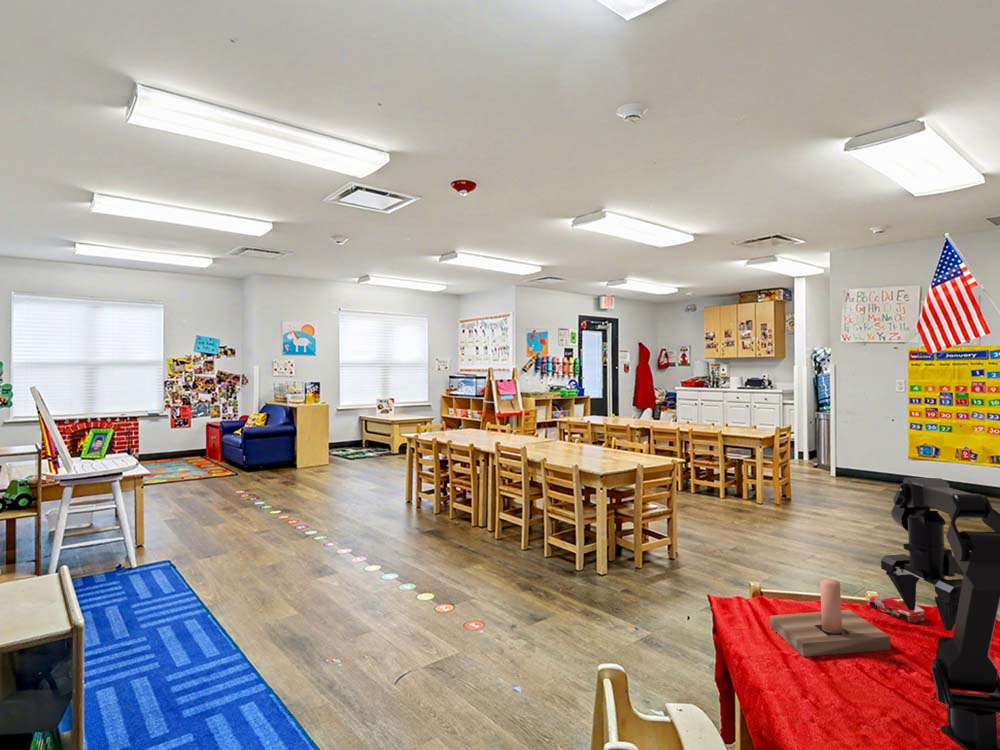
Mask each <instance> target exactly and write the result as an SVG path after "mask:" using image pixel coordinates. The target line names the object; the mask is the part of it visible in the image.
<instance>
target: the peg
mask: <svg viewBox="0 0 1000 750" xmlns="http://www.w3.org/2000/svg"><path fill="white" fill-rule="evenodd" d="M819 584H820V585H819V587H820V588H819V589H820V591H819V592H820V607H821V608H820V610H821V611H820V612H821V614H822V632H824V633H825V634H826V635H828V636H833V635H842V633H843V630H842V616H841V610H842V598H841V597H842V595H841V594H842V593H841V583H840V581H839V580H836V579H831V578H822V579H820V580H819Z"/></svg>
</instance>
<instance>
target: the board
mask: <svg viewBox="0 0 1000 750" xmlns="http://www.w3.org/2000/svg"><path fill="white" fill-rule="evenodd" d="M841 616H842V630H843V633H842V635H833V636H828V635H826V634H825V633H824V632H822V614H821V611H815V612H803V613H802V612H800V613H790V614H789V613H788V614H779V615H778V614H777V615H769V627H770V626H771V627H772V628H773V629H774V630H775V631H776V632H777V633H778V634H780V635H781V636H782V637H783V638H784V639H785V640H786V641H787V642H788V643H789V644H790V645H791V646H792V647H793V648H794V651H796V652H797V653H798V654H799V656H801V657H803V658H805V657H816V656H826V655H827V656H828V655H829V656H831V655H841V654H842V655H843V654H851V653H852V654H853V653H865V652H876V651H877V652H879V651H887V650H888V651H890V650H891V636H890V635H889V634H887V633H885V632H884V631H883V630H881V629H880V628H878V627H876V626H874V624H872V623H870V622H869V621H868V620H865V619H864V618H863V617H861V616H859V615H858V614H857V613H854V612H853V611H852V610H850V609H841ZM778 634H777V635H778ZM787 642H786V643H787ZM788 643H787V644H788ZM789 644H788V645H789ZM790 645H789V646H790ZM791 646H790V647H791ZM792 647H791V648H792ZM793 648H792V649H793Z"/></svg>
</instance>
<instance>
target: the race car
mask: <svg viewBox="0 0 1000 750" xmlns="http://www.w3.org/2000/svg"><path fill="white" fill-rule="evenodd" d="M868 602H869V603H868V605H869V606H870V609H874V610H876V611H877V610H878V611H880V612H883V613H886V614H888V615H890V616H893V617H895V618H898V619H900V620H901V621H904V622H905V621H906V622H909V623H915V624H916V623H921V622H924V621H927V620H928V619H927V614H926V610H924V609H923V608H922V607H920V606H919V605H917V604H915V610H912V611H910V610H908V608H907V606H906V604H905V603H904V601H903V599H902V597H899V596H897V597H896V596H895V597H888V596H883V595H882V596H881V595H874V596H870V598H869V600H868ZM881 605H882V606H881Z"/></svg>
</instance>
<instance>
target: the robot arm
mask: <svg viewBox="0 0 1000 750" xmlns="http://www.w3.org/2000/svg"><path fill="white" fill-rule="evenodd" d="M893 504H894V506H893V507H892V509H891V511H890V512H891V517H892V519H893V521H894V522H895V523H896V524H897V525H899V526H900V527H901V528H902V529H904V530H905V531H906V532H908V543H903V549H904V551H905V550H906V551H908V554H906V553H902V554H888V555H884V556H883V557H882V558H881V559H880V566H881V567H880V568H881V570H883V571H885V575H886V576H887V577H889V579H890V581H891V582H892V584H893V585H894V586H895V587H894V588H895V589H896V590H897V592H898V593H899V595H900V598H902V599H903V601H904V603H905V604H906V606H907V608H908V610H910V611H912V610H915V605H917V604H916V601H917V599H916V598H917V583H918V581H919V580H922V581H925V582H927V583H928V584H931V585H933V586H934V592H935V594H936V595H937V596H934V601H935V604H936V608H937V611H938V613H939V617H940V620H941V623H942V626H943V629H944V630H945V631H946V632H951V631H953V633H952V637H950V636H940V637H939V638H938V639H937V647H936V650H935V658H933V659H932V664H931V673H932V676H933V677H932V678H933V681H934V687H935V690H936V700H937V702H939V703H942V704H943V705H944V704H945V707H946V717H947V724H948V725H941V726H939V729H940V731H942V732H943V733H944V732H945V733H946V735H947V734H948V735H947V736H948V737H949V736H950V737H949V738H951V739H952V738H953V739H954V740H955V741H954V740H953V739H952V740H953V741H954V742H956V743H957V744H958V743H959V744H958V745H960V746H961V747H962V746H963V747H964V748H963V747H962V748H963V749H965V750H1000V740H999V739H998V720H997V719H998V717H997V714H1000V674H999V670H998V669H997V667H996V665H995V664H994V661H993V660H992V658H991V656H990V655H989V653H990V648H991V644H992V640H993V639H992V638H993V634H994V629H995V625H996V620H997V614H998V610H999V607H1000V606H999V605H1000V513H999V512H998V511H997V510H995V509H994V507H992V504H991V502H990V500H989V498H987V496H986V495H981V494H980V493H971V492H967V491H963V490H959V489H956V488H952V487H950V483H949V482H948V481H946V480H944V479H943V478H941V477H904V479H902V483H900V484H899V486H898V489H897V491H896V493H895V494H894V496H893ZM939 511H940V512H943V513H946V514H947V515H948V516H949V518H950V523H949V526H948V528H947V530H946V533H945V525H946V520H945V518H944V517H943V516H941V515H940V513H939ZM957 519H980V520H982V522H983V523H984V525H986V526H987V527H989V528H990V529H991V530H992V531H978V530H972V531H971V530H961V531H959V529H958V527H957V526H956V521H957ZM945 537H946V539H947V542H948V544H949V547H950V548H951V549H950V548H948V547H945V545H946V543H945ZM956 575H960V576H962V578H955V579H953V578H952V577H956ZM945 577H948V578H950V577H951V579H946V578H945ZM953 690H954V691H953ZM955 690H956V691H955ZM961 691H965V692H961ZM971 692H972V693H971ZM974 692H976V693H974ZM982 693H988V694H982ZM945 733H944V734H945Z"/></svg>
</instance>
